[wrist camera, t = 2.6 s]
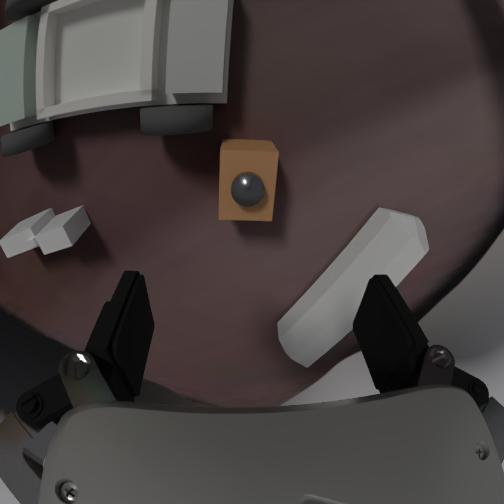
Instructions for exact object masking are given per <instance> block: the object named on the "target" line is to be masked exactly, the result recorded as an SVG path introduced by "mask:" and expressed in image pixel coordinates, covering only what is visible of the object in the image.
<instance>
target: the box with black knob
mask: <svg viewBox="0 0 504 504" xmlns="http://www.w3.org/2000/svg"><path fill="white" fill-rule="evenodd" d="M278 156H279V152H278V150H277V149H276V147H275V146H274V144H273V143H272V141H263V140H243V139H223V140H222V145H221V149H220V177H219V220H249V221H272V216H273V207H274V197H275V187H276V177H277V167H278Z"/></svg>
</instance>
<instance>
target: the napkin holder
mask: <svg viewBox="0 0 504 504" xmlns="http://www.w3.org/2000/svg"><path fill="white" fill-rule="evenodd" d="M90 224H91V222H90V220H89V218H88V216H87V213H86V211H85V209H84V207H83V206H80V207H77V208H75V209H72V210H69V211H67V212H64V213H62V214H59V215H57V216H55V214H54V212H53V209H52V208H50V209H47V210H45V211H43V212H41V213H38V214H36V215H34V216H32V217H30V218H28V219H25V220H23V221H21V222H19V223H18V224H17V225H16V226H15V227H14V228H13V229H12V230H11V231H9V232H8V233H7V234H6V235H5V236H4V237H3V238H2V239H1V240H0V245H1V247H2V249H3V251H4V252H5V254H6V256H7V258H9V257H11V256H14V255H17V254H19V253H22V252H25V251H27V250H30V249H33V248H36V247H38V246H40V248H41V250H42V251H43V253H44V255H45V254H48V253H52V252H55V251H58V250H61V249H64V248H68V247H71V246H73V245H74V243H75V242H76V241H77V240H78V239H79V237H80V236H81V235H82V234H83V232H84V231H85V230H86V229H87V228H88V226H89V225H90Z"/></svg>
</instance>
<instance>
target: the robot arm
mask: <svg viewBox="0 0 504 504" xmlns="http://www.w3.org/2000/svg"><path fill="white" fill-rule="evenodd" d="M153 331H154V320H153V316H152V312H151V307H150V303H149V298H148V293H147V288H146V283H145V278H144V275H140V273H139V271H124V273H123V275H122V277H121V279H120V281H119V283H118V286H117V288H116V290H115V292H114V294H113V296H112V299H111V301H110V302H108V301H107V302H106V303H105V304H104V306H103V308H102V310H101V313H100V315H99V317H98V319H97V322H96V324H95V326H94V329H93V331H92V334H91V336H90V338H89V341H88V343H87V346H86V348H85V351H74V352H71V353H69V354H68V355H66V356H65V357H64V358H63V359H62V361H61V363H60V366H59V372H60V373H59V374H57V375H55V376H54V377H52V378H50V379H48V380H46V381H45V382H43V383H41V384H39V385H38V386H36V387H34V388H32V389H30V390H28V391H26V392H25V393H23V394H22V395H21V396H20V398H19V399H18V402H17V406H16V410H17V411H16V413H14V414H13V413H12V412H11V413H10V414H9V415H8V416H7V417H6V418H5V419H4V420H3V422H2V423H1V424H0V477H1V479H2V480H3V482H4V483H5V484H6V486H7V487H8V488H9V490H10V491H11V492H12V494H13V495H14V496H15V497H16V499H17V500H18V501H19V502H20V504H504V472H503V469H502V465H501V463H502V462H503V460H504V407H503V406H502V405H501V404H500V403H499V402H498V401H497V400H495V399H494V398H493V397H490V398H489V392H488V389H487V387H486V385H485V384H484V382H482V381H481V380H480V379H478V378H476V377H474V376H472V375H470V374H468V373H466V372H464V371H462V370H461V369H458V368H457V367H455V366H454V365H455V361H454V357H453V355H452V354H451V352H450V351H449V350H448V349H447V348H445V347H443V346H440V345H433V346H430V347H429V346H428V345H427V343H428V340H427V338H426V336H425V335H424V333H423V331H422V329H421V328H420V326H419V324H418V323H417V321H416V319H415V318H414V316H413V314H412V313H411V311H410V309H409V308H408V306H407V304H406V303H405V301H404V300H403V298H402V296H401V295H400V293H399V292H398V290H397V289H396V287H395V286H394V284H393V283H392V281H391V279H390V278H389V276H388V275H386V274H378V275H374V276H373V277H372V278H370V279H369V281H368V284H367V287H366V290H365V292H364V295H363V298H362V300H361V303H360V306H359V308H358V311H357V313H356V316H355V318H354V321H353V331H354V333H355V336H356V338H357V341H358V343H359V346H360V348H361V351H362V353H363V356H364V358H365V361H366V364H367V366H368V369H369V372H370V374H371V377H372V380H373V382H374V385H375V387H376V389H378V390H379V391H380V394H376V395H371V396H365V397H359V398H353V399H346V400H339V401H331V402H322V403H313V404H304V405H290V406H273V407H236V408H229V407H192V406H176V405H162V404H151V403H138V402H134V399H135V396H139V394H140V389H141V384H142V379H143V375H144V370H145V365H146V361H147V357H148V352H149V348H150V344H151V339H152V335H153ZM45 456H46V459H45V463H44V468H43V460H44V458H45Z"/></svg>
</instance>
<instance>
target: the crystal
mask: <svg viewBox="0 0 504 504" xmlns="http://www.w3.org/2000/svg"><path fill="white" fill-rule="evenodd" d="M366 246H367V247H366ZM428 251H429V246H428V241H427V236H426V231H425V227H424V226H423V224H422V222H421V221H420V219H419V218H418V217H415V216H413V215H410V214H406V213H402V212H399V211H395V210H391V209H387V208H380V207H379V208H378V209H377V210H376V211H375V213H374V214H373V215H372V216H371V218H370V219H369V220H368V221H367V223H366V224H365V225H364V226H363V227H362V229H361V230H360V231H359V232H358V233H357V235H356V236H355V237H354V238H353V239H352V241H351V242H350V243H349V244H348V245H347V246H346V248H345V249H344V250H343V251H342V252H341V253H340V255H339V256H338V257H337V258H336V259H335V260H334V261H333V263H332V264H331V265H330V266H329V267H328V268H327V269H326V271H325V272H324V273H323V274H322V275H321V276H320V277H319V278H318V280H317V281H316V282H315V283H314V284H313V285H312V286H311V287H310V288H309V289H308V291H307V292H306V293H305V294H304V295H303V296H302V297H301V298H300V299H299V300H298V301H297V302H296V303H295V305H294V306H293V307H292V308H291V309H290V310H289V311H288V312H287V313H286V314H285V315H284V316H283V317H282V318H281V319H280V320H279V321H278V322H277V324H278V338H279V341H280V343H281V345H282V347H283V349H284V351H285V353H286V354H287V355H288V356H289V357H290V358H291V359H292V360H294V361H296V362H297V363H299V364H301V365H303V366H305V367H306V368H308V367H309V366H310V365H312V364H313V363H314V362H315V361H316V360H318V359H319V358H320V357H321V356H322V355H324V354H325V353H326V352H327V351H328V350H330V349H331V348H332V347H333V346H334V345H335V344H336V343H338V342H339V341H340V340H341V339H342V338H343V337H344V336H346V335H347V334H348V333H349V332H350V331H351V330H352V329H353V321H354V318H355V316H356V313H357V311H358V308H359V306H360V303H361V300H362V298H363V295H364V292H365V290H366V287H367V284H368V281H369V279H370V278H372V277H373V276H374V275H378V274H386V275H388V276H389V278H390V279H391V281H392V283H393V284H394V286H395V287H396V286H397V285H398V284H399V283H400V282H401V281H402V280H403V279H404V278H405V276H406V275H407V274H408V273H409V272H410V271H411V270H412V269H413V268H414V267H415V265H416V264H417V263H418V262H419V261H420V260H421V259H422V258H423V256H424V255H425V254H426V253H427V252H428ZM359 254H360V255H359ZM331 285H332V286H331ZM313 304H314V305H313ZM312 305H313V306H312ZM311 306H312V307H311ZM310 307H311V308H310Z"/></svg>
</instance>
